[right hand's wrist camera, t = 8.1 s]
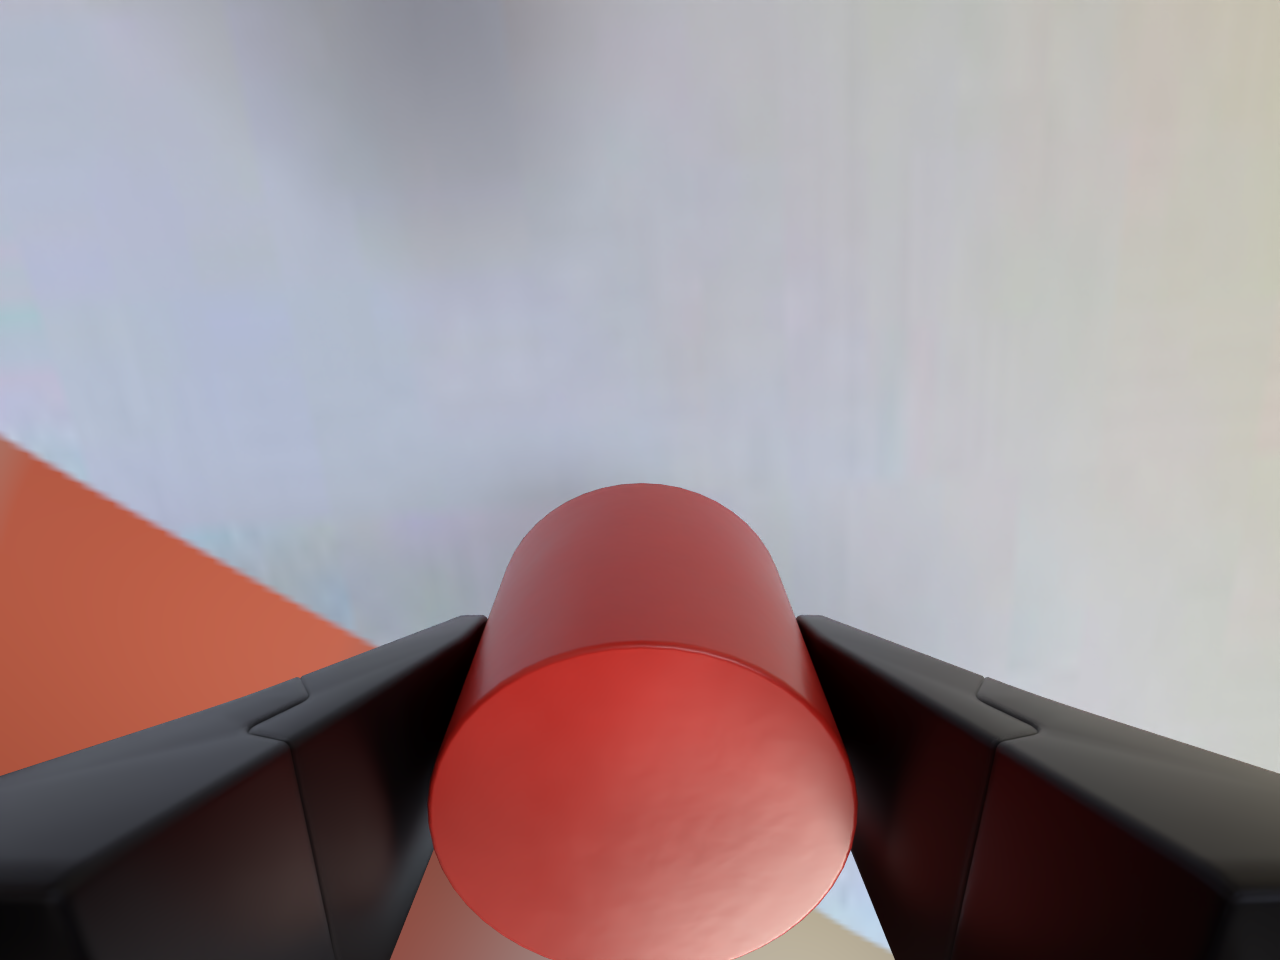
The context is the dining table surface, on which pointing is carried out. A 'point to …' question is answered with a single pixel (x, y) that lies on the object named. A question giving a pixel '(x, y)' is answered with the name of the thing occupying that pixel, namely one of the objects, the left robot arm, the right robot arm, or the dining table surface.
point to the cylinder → (642, 742)
